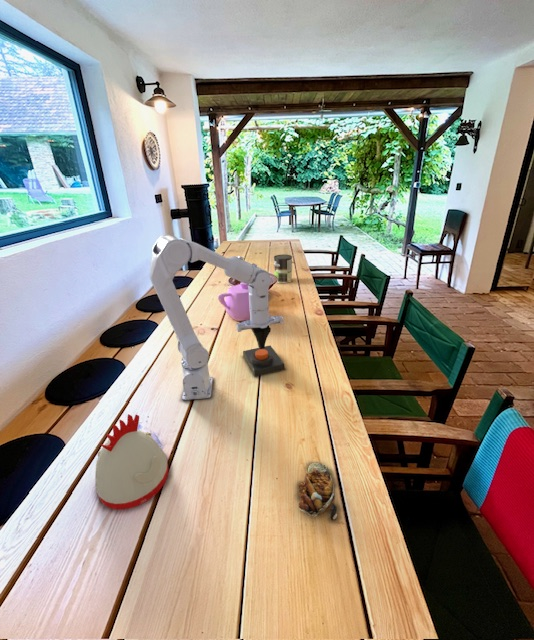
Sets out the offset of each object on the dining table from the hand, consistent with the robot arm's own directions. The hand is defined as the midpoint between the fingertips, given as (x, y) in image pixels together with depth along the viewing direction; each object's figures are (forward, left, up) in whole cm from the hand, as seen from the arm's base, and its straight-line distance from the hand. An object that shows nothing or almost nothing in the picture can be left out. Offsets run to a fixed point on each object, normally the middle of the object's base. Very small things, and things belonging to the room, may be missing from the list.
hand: (261, 347), depth 101 cm
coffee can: (+89, -18, -7) cm, 91 cm away
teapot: (+42, +4, -7) cm, 43 cm away
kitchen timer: (-39, +30, -7) cm, 49 cm away
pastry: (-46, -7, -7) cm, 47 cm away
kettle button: (0, 0, -3) cm, 3 cm away
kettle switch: (+2, 0, -7) cm, 7 cm away
